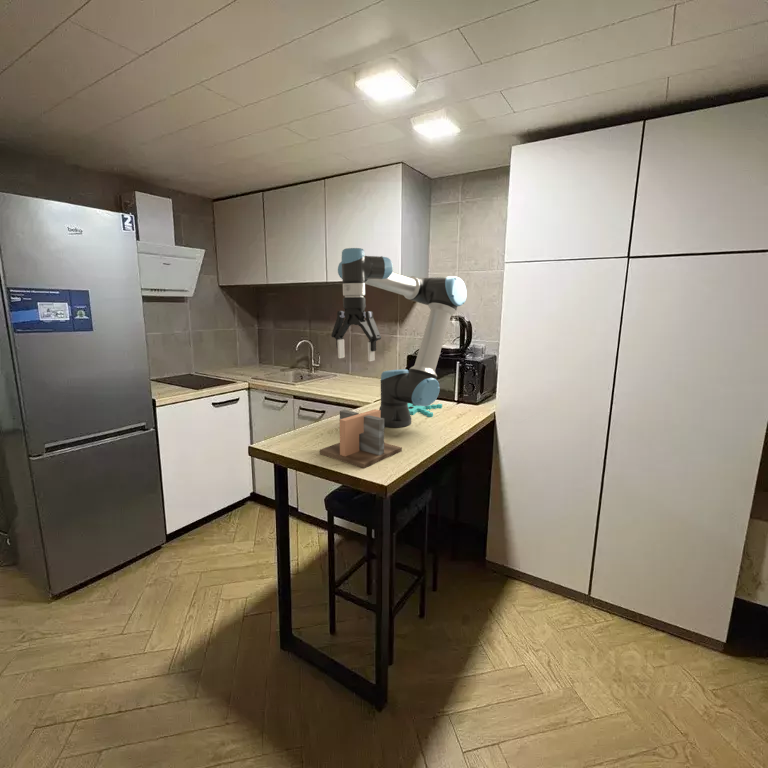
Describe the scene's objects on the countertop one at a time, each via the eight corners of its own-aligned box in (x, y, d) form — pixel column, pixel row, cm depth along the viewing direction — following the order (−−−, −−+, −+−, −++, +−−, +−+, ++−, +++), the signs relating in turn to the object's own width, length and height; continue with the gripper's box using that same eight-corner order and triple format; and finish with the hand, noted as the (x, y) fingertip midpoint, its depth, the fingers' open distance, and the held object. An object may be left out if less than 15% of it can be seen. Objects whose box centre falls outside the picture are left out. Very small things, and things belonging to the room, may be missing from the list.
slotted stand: (359, 439, 158) (359, 404, 156) (401, 451, 146) (402, 413, 143) (319, 453, 143) (319, 415, 140) (363, 468, 130) (363, 426, 128)
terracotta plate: (374, 441, 152) (375, 409, 149) (380, 442, 150) (380, 410, 148) (339, 454, 138) (339, 419, 135) (345, 456, 136) (345, 420, 134)
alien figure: (442, 408, 209) (404, 404, 216) (442, 404, 209) (404, 400, 216) (431, 418, 191) (390, 413, 198) (431, 413, 190) (390, 409, 198)
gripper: (319, 297, 145) (322, 357, 149) (376, 296, 130) (378, 363, 134) (334, 296, 150) (337, 355, 155) (390, 296, 136) (391, 360, 140)
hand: (356, 359), depth 145 cm, fingers open, 13 cm apart
